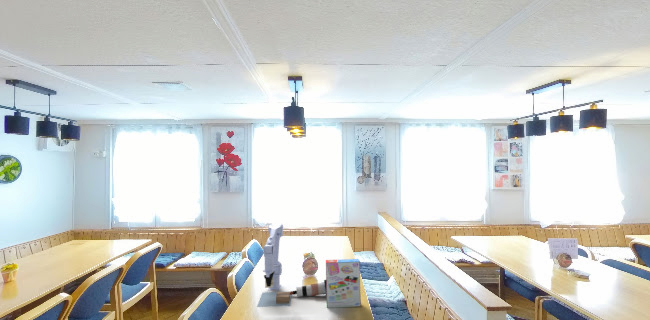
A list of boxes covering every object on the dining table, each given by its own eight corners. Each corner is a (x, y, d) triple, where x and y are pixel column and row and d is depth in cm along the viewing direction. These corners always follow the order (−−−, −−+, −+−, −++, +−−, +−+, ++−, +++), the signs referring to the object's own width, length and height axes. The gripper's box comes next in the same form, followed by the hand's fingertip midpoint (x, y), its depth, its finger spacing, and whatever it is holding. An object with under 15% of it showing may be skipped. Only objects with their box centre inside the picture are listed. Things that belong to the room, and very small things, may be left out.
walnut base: (277, 298, 208) (277, 291, 208) (290, 297, 209) (289, 291, 209) (276, 303, 200) (275, 296, 200) (289, 303, 201) (289, 296, 201)
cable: (290, 302, 213) (288, 286, 218) (340, 294, 216) (338, 278, 220) (288, 301, 204) (287, 284, 209) (341, 293, 207) (339, 276, 211)
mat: (262, 293, 218) (262, 292, 218) (292, 292, 219) (292, 291, 219) (256, 307, 196) (256, 306, 196) (290, 306, 197) (290, 305, 197)
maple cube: (266, 285, 212) (266, 278, 212) (273, 284, 212) (273, 278, 212) (265, 287, 208) (265, 280, 208) (272, 287, 208) (272, 280, 208)
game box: (359, 303, 201) (359, 258, 201) (361, 307, 195) (360, 261, 196) (326, 304, 200) (325, 259, 200) (326, 308, 195) (325, 262, 195)
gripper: (264, 260, 217) (265, 280, 217) (261, 267, 203) (261, 289, 203) (275, 260, 218) (275, 280, 217) (272, 266, 203) (272, 288, 203)
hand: (269, 284), depth 210 cm, fingers closed on maple cube, 4 cm apart
